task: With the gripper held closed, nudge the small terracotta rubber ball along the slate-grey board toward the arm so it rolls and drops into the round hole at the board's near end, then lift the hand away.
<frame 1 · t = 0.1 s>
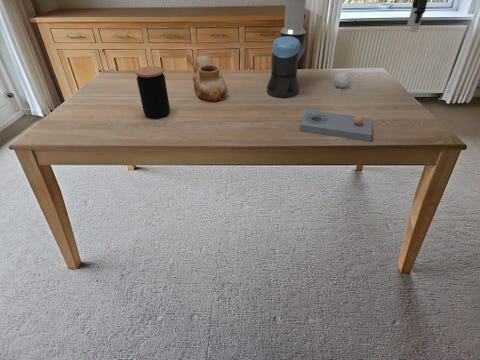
hand: (411, 28, 126), 28 cm above the table, fingers open, 13 cm apart
coffee jar: (157, 114, 129), on the table
geometric ball: (340, 87, 151), on the table
ball: (358, 120, 113), point 4 cm above the table, touching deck
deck: (335, 127, 117), on the table
ceramic vessel: (209, 93, 147), on the table
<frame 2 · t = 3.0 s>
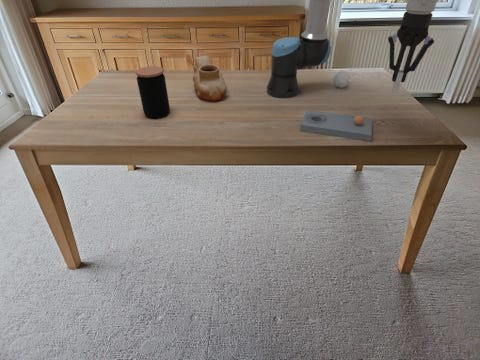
hand: (394, 91, 103), 16 cm above the table, fingers closed
nothing on the table moved.
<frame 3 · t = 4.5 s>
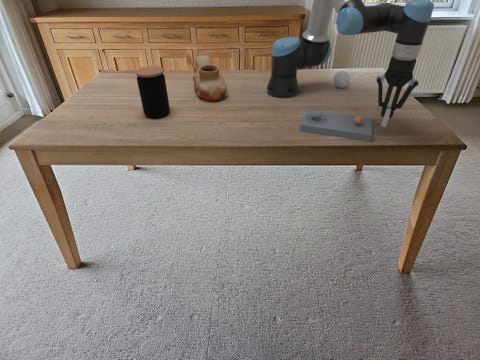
hand: (383, 124, 110), 4 cm above the table, fingers closed
nothing on the table moved.
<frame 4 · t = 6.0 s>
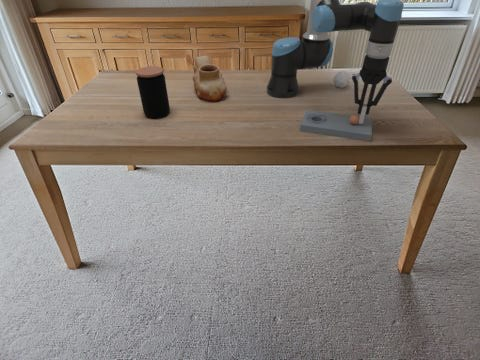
hand: (360, 121, 113), 4 cm above the table, fingers closed
ball: (354, 119, 113), point 4 cm above the table, tilted 49°, touching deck
everything else where it was.
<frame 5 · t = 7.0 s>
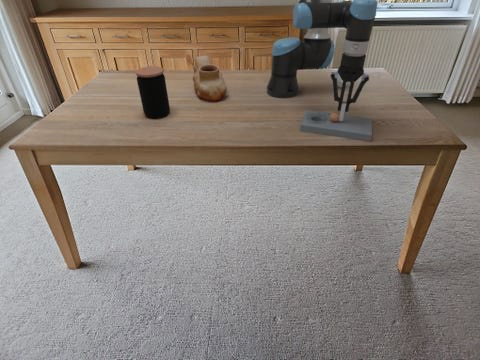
hand: (340, 119, 115), 4 cm above the table, fingers closed
ball: (334, 117, 115), point 4 cm above the table, tilted 101°, touching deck, gripper
everything else where it was.
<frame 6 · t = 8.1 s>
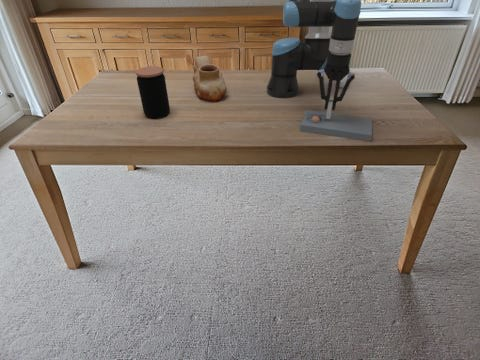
hand: (328, 117, 116), 4 cm above the table, fingers closed
ball: (315, 120, 118), point 2 cm above the table, tilted 127°
everything else where it was.
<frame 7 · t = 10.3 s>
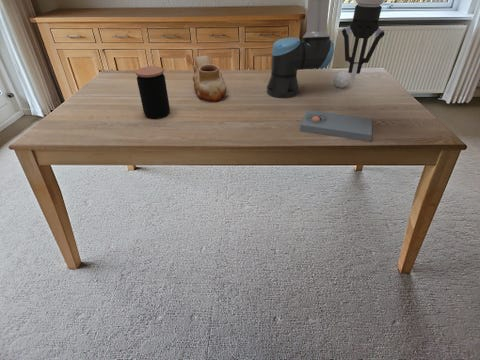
hand: (351, 82, 106), 18 cm above the table, fingers closed
nothing on the table moved.
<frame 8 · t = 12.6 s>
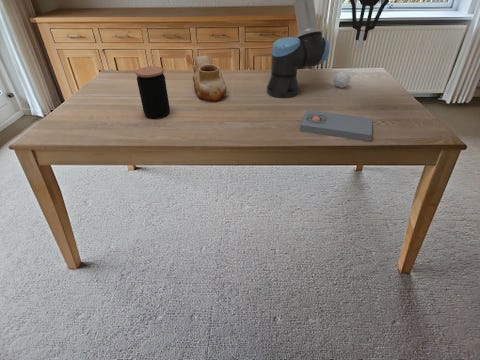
hand: (358, 49, 114), 24 cm above the table, fingers closed
nothing on the table moved.
at the end: ball 0.2 cm from the target spot in the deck, point 1.7 cm above the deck's base; the gripper is holding nothing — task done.
